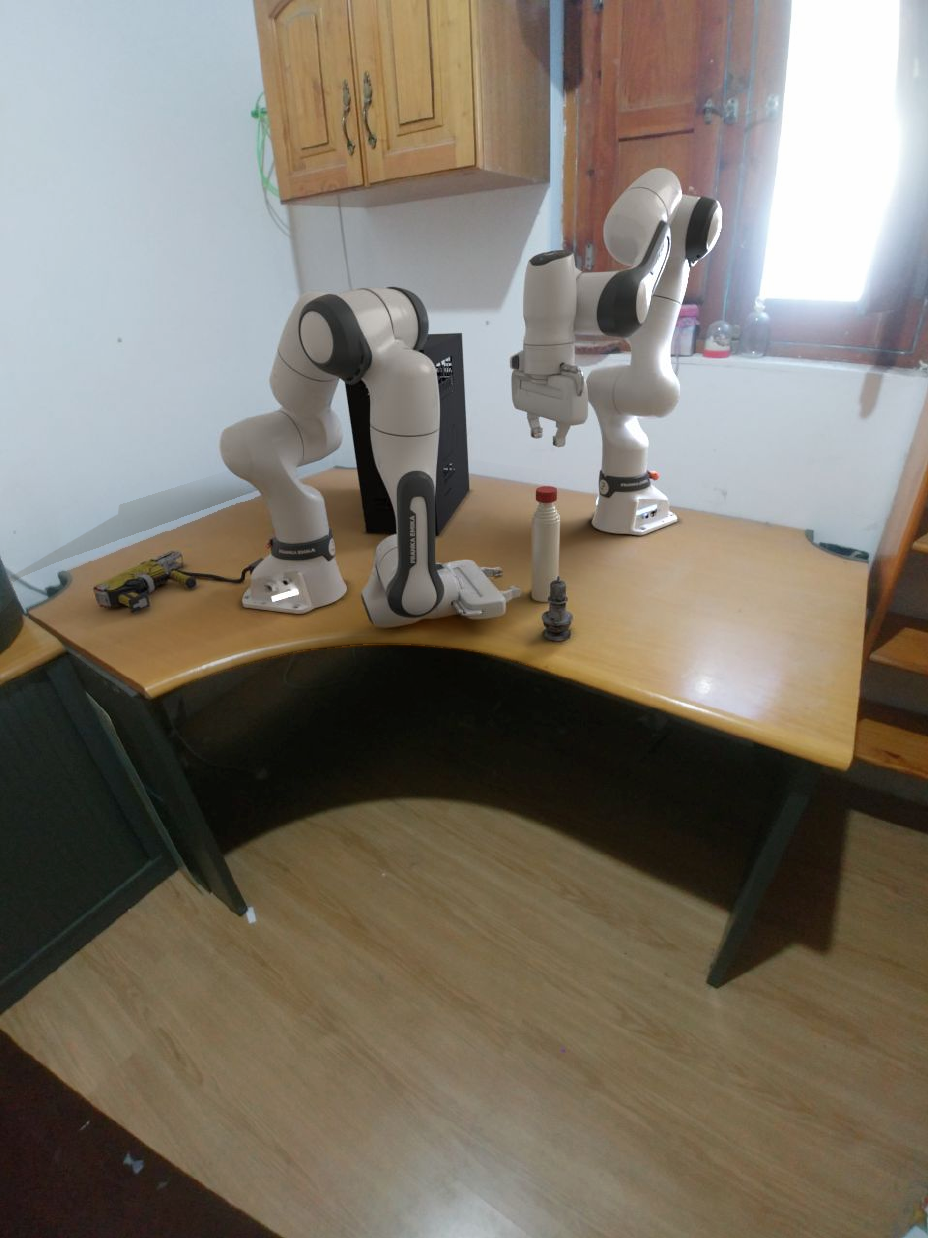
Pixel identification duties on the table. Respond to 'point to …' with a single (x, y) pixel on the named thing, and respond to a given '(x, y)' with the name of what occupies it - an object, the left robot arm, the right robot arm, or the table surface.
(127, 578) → the toy gun
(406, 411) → the left robot arm
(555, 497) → the cap
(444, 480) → the black tall box
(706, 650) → the table surface
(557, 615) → the grey stepped cylinder
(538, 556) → the bottle
